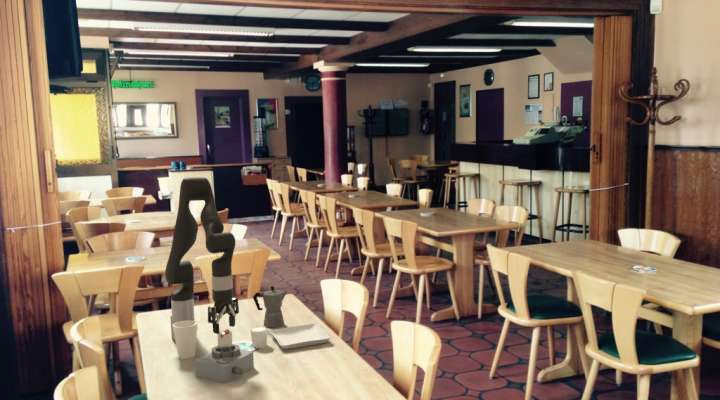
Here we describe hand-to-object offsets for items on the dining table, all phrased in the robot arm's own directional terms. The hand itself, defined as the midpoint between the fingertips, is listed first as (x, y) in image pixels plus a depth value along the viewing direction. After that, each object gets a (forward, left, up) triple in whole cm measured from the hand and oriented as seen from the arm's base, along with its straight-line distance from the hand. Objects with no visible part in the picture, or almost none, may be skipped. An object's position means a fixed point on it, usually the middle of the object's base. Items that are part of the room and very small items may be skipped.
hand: (224, 329), depth 232 cm
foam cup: (-24, +4, -15) cm, 29 cm away
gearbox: (+3, -2, -15) cm, 16 cm away
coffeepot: (-17, +50, -15) cm, 55 cm away
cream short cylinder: (-5, +26, -15) cm, 31 cm away
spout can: (0, 0, -9) cm, 9 cm away
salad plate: (+7, +38, -16) cm, 42 cm away
